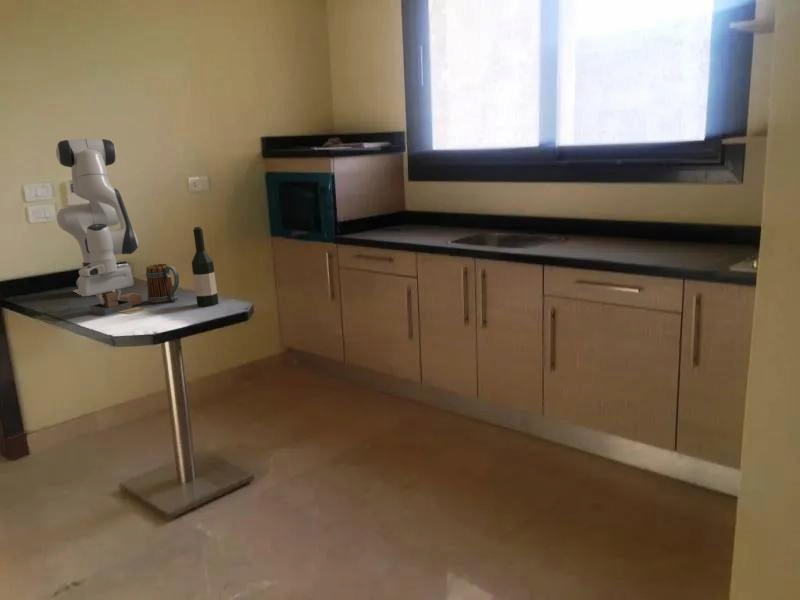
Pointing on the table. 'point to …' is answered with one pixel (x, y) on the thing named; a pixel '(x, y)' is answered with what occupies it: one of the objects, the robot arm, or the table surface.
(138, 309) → the light wooden board
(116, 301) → the walnut block
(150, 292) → the mug
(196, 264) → the wine bottle
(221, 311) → the table surface
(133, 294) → the terracotta pot
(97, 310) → the tin
